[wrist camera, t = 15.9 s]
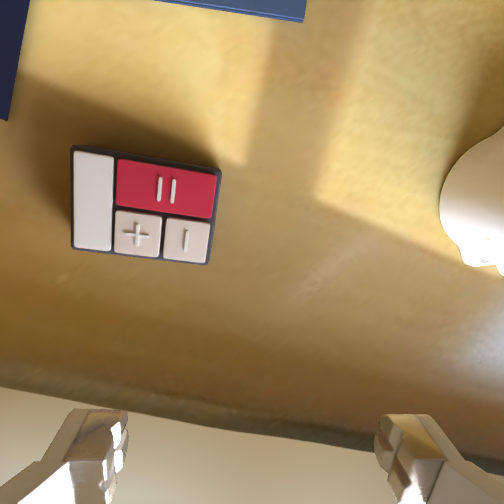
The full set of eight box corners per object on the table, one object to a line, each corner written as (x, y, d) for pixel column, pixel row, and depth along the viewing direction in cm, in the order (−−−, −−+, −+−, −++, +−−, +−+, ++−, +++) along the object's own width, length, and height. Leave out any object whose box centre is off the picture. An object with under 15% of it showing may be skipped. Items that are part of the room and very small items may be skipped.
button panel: (208, 268, 35) (67, 252, 32) (209, 255, 39) (83, 240, 36) (222, 171, 32) (66, 144, 29) (221, 168, 36) (83, 144, 33)
